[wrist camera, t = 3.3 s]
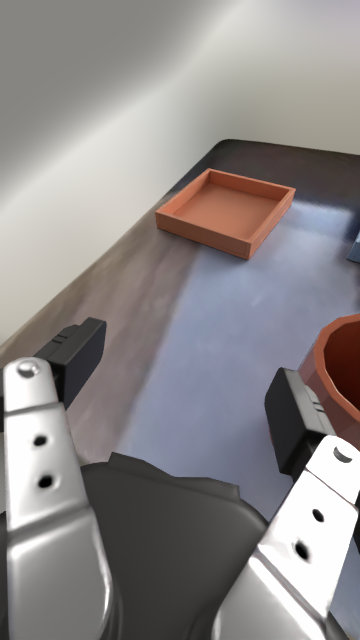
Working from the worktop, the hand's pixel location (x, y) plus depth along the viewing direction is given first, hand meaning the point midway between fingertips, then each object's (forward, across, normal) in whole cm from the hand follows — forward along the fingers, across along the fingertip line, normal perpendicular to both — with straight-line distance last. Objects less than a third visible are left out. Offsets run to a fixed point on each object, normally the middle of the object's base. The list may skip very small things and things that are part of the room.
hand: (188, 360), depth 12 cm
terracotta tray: (+32, +1, +4) cm, 33 cm away
